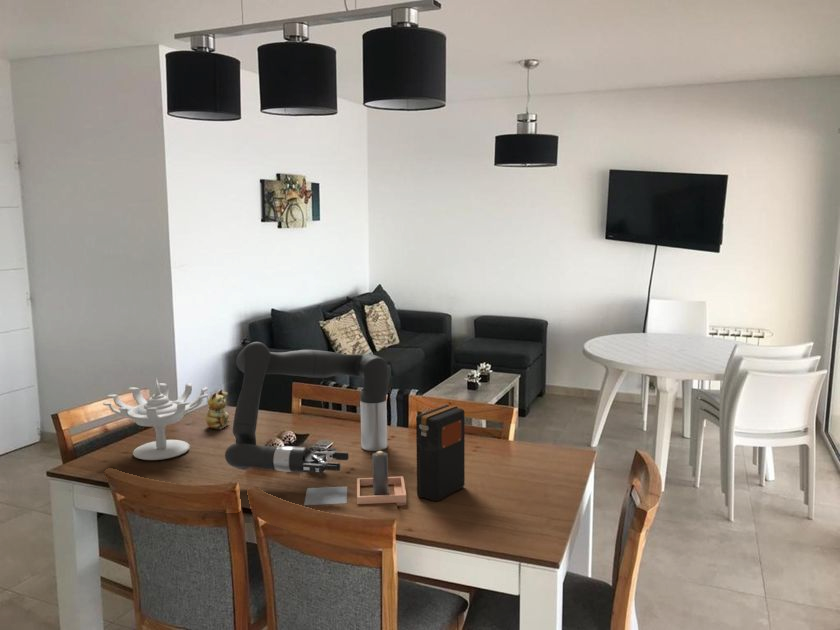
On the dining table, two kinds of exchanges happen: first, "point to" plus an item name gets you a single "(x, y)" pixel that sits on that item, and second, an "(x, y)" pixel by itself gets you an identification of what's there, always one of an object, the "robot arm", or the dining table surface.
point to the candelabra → (158, 419)
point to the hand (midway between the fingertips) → (344, 461)
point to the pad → (326, 495)
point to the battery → (380, 473)
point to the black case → (440, 452)
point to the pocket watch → (312, 452)
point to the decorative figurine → (217, 410)
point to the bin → (398, 497)
